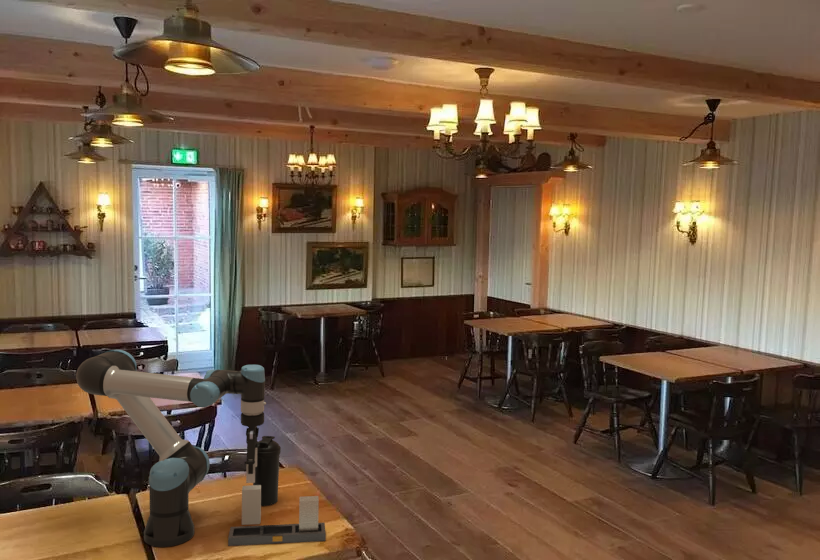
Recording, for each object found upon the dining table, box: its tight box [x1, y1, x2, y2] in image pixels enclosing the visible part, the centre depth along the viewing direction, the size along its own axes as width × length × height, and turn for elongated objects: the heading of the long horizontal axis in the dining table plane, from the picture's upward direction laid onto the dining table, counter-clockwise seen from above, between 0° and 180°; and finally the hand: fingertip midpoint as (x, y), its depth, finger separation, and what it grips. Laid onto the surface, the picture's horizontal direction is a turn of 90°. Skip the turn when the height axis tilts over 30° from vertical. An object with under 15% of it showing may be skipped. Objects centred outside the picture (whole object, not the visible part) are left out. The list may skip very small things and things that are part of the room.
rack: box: [227, 495, 327, 547], centre depth 213 cm, size 30×8×13 cm, turn 100°
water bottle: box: [252, 435, 282, 507], centre depth 239 cm, size 10×10×23 cm
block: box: [241, 484, 262, 526], centre depth 223 cm, size 6×4×12 cm, turn 100°
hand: (251, 474), depth 222 cm, fingers open, 13 cm apart
